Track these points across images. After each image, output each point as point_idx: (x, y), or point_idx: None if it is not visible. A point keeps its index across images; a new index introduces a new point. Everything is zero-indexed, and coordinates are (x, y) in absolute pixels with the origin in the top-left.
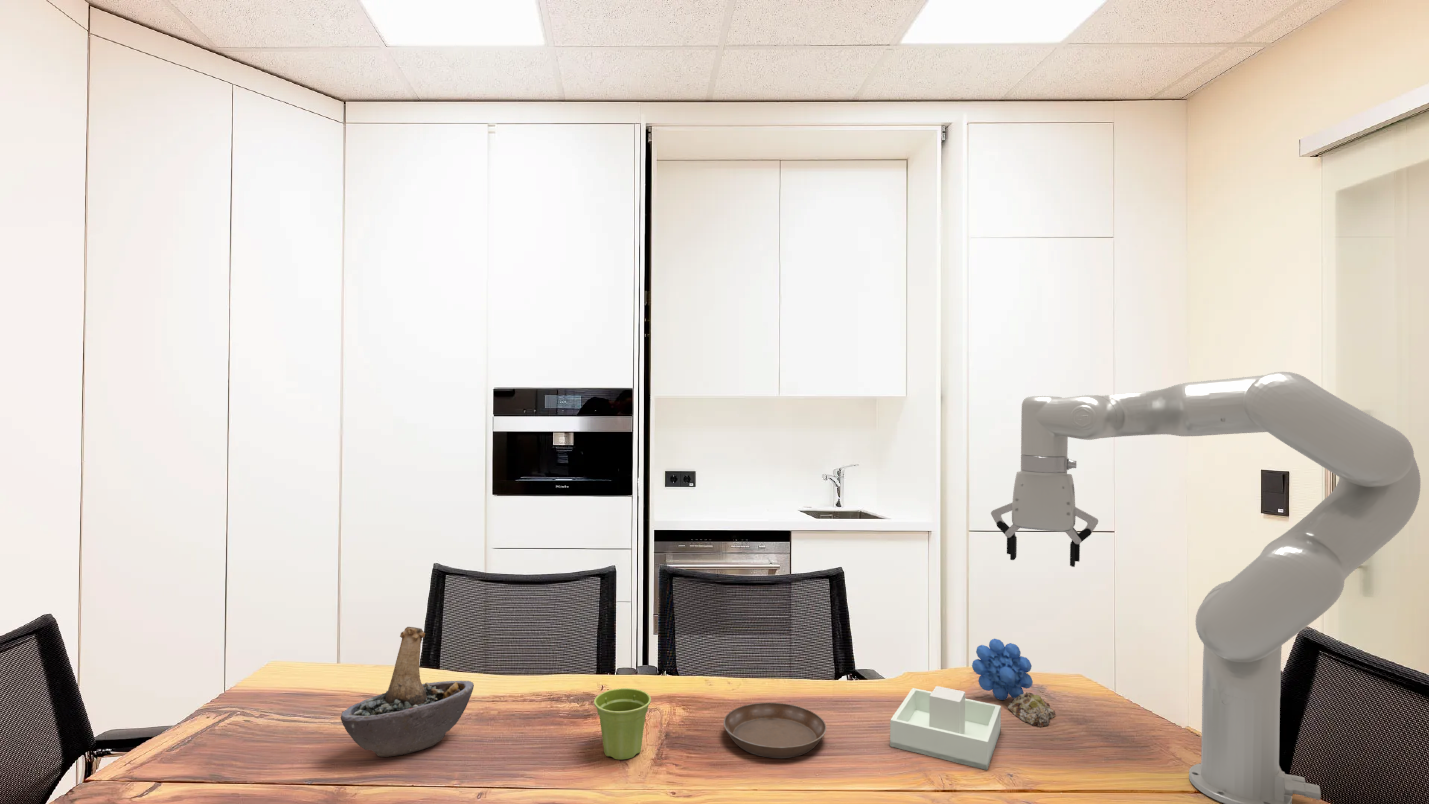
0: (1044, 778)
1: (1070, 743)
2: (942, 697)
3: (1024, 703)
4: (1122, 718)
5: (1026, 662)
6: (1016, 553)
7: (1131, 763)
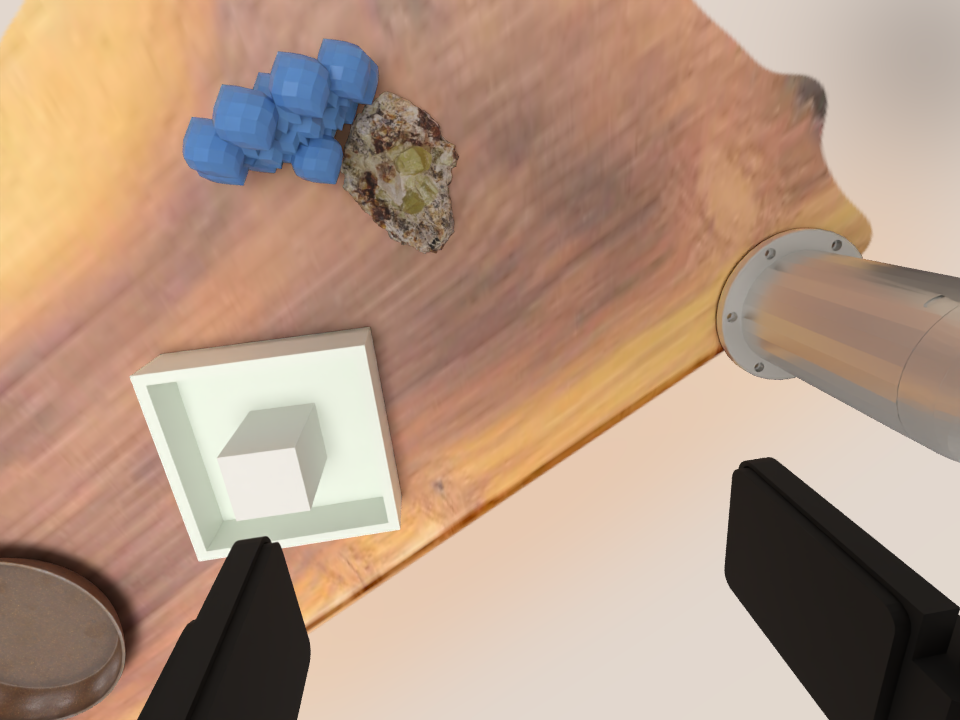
0: (491, 462)
1: (511, 292)
2: (265, 511)
3: (384, 182)
4: (607, 49)
5: (357, 85)
6: (268, 557)
7: (623, 309)
